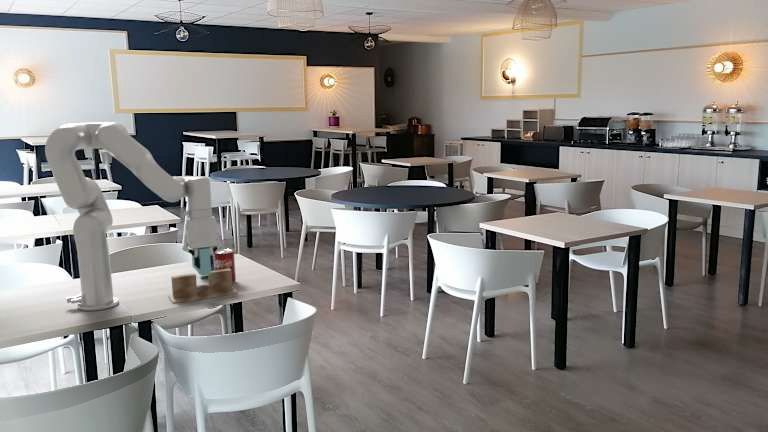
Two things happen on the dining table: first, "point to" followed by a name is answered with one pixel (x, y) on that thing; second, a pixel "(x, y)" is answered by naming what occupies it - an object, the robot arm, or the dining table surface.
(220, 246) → the robot arm
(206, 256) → the teal rectangular block
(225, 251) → the soda can
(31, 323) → the dining table surface
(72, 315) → the dining table surface
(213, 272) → the walnut slotted stand
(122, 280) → the dining table surface
